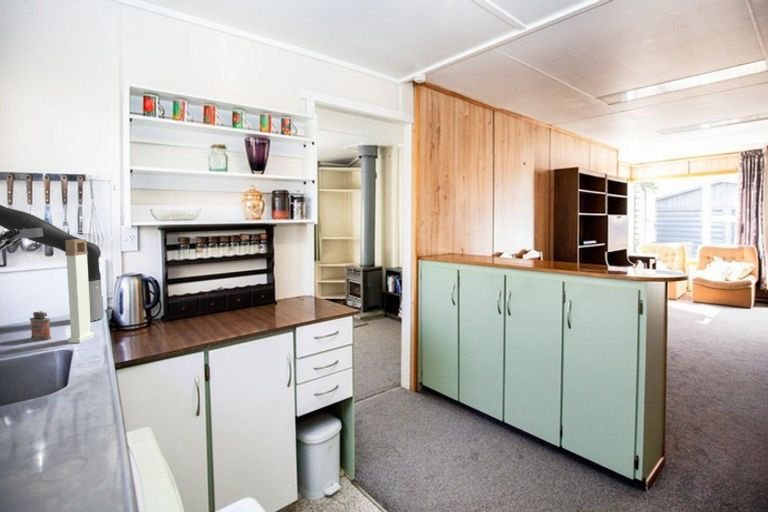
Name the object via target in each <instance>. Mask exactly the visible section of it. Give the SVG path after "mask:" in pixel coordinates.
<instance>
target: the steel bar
mask: <svg viewBox="0 0 768 512" xmlns="http://www.w3.org/2000/svg"><path fill="white" fill-rule="evenodd" d="M8 231H9V230H6V231H5V230H4V231H2V233H6V232H8ZM17 231H18V232H19V234H17V235H16V236H14V237H12V238H10V239H9V240H13V239H22V240H23V239H27V238H31V237H41V236H44V235H43V230H42V228H32V229H22V230H17Z"/></svg>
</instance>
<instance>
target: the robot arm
mask: <svg viewBox="0 0 768 512" xmlns="http://www.w3.org/2000/svg"><path fill="white" fill-rule="evenodd" d="M0 227H2V228H3V229H6V230H7V231H8V232H6V233H3V232H2V233H0V251H1V250H4V249H6V248H7V247H8V246H12V247H15V246H17V245H18V243H20V242H21V241H22V240H23V238H22V239H13V240H9V239H10V238H12V237H14V236H16V235H17V234H19V232H18V231H17V230H22V229H32V228H42V230H43V235H44V236H41V237H31V238H26V239H27V240H30V241H32V242H35V243H37V244H41V245H44V246H48V247H52V248H54V249H58V250H60V251H63V252H65V253H66V242H65V240H75V239H81V238H79V237H77V236H74V235H71V234H70V233H68V232H66V231H64V230H62V229H61V228H59V227H58V226H55V225H54V224H51V222H50V223H49V222H48V221H46V220H44V219H42V218H40V217H38V216H36V215H34V214H31V213H29V212H27V211H26V212H25V211H22V210H18V209H14V208H9V207H7V206H4V205H2V204H0ZM86 242H87V251H88V254H87V264H88V283H89V302H90V321H91V322H95V321H94V320H97V321H99V320H98V319H101V318H103V319H104V317H105V315H104V296H103V292H102V274H101V271H100V257H101V255H102V252H101V249H100V247H99V246H98V245H97V244H95V243H94V242H90V241H87V240H86ZM103 316H104V317H103ZM101 320H102V319H101Z"/></svg>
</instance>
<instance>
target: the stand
mask: <svg viewBox="0 0 768 512" xmlns="http://www.w3.org/2000/svg"><path fill="white" fill-rule="evenodd" d="M86 241H87V239H84V238H83V239H82V238H80V239H75V240H65V242H66V252H65V257H66V270H67V272H66V273H67V274H66V275H67V285H68V286H67V288H68V289H67V290H68V304H69V305H68V307H69V322H70V323H69V324H70V337H68V338H67V344H81V343H83V342H85V341H87V340H89V339H91V338H93V337H95V332H94V331H92V324H91V323H92V321H91V322H90V302H89V283H88V264H87V254H88V251H87V242H86Z"/></svg>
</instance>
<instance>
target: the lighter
mask: <svg viewBox="0 0 768 512" xmlns="http://www.w3.org/2000/svg"><path fill="white" fill-rule="evenodd" d="M32 315H33V317H30V318H29V321H30V329H31V330H30V331H31V335H30V338H31V340H34V341H43V342H45V340H46V341H50V340H51V339H52V336H51V328H50V322H51V319H50V318H49V317H48V312H43V311H42V310H39V311H33V313H32ZM49 339H50V340H49Z"/></svg>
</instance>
